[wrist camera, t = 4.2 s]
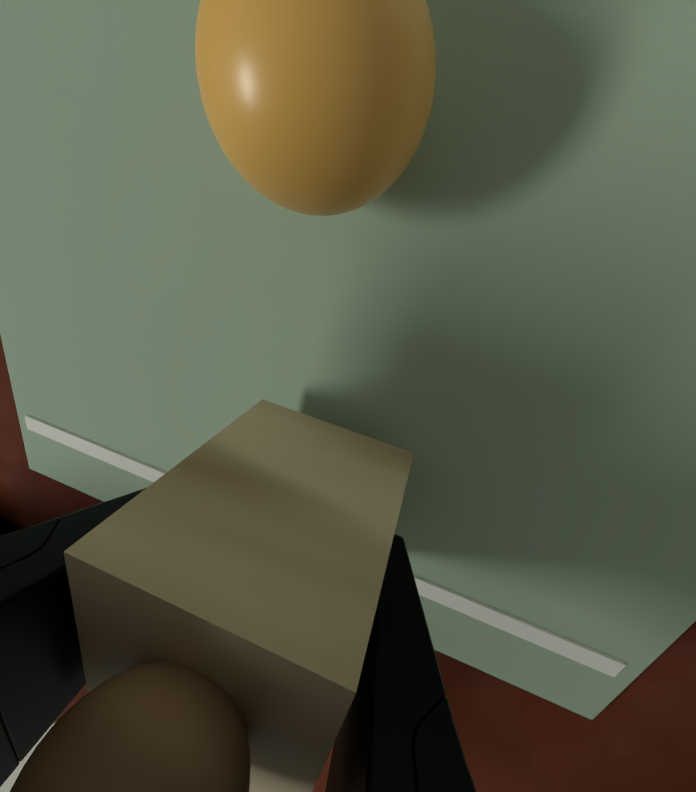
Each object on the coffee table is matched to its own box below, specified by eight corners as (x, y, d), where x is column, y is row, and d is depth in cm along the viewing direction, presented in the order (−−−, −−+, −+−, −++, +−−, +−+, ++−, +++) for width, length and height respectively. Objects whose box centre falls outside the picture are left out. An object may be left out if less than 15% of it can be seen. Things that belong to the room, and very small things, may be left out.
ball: (411, 238, 8) (373, 236, 5) (261, 201, 8) (137, 176, 5) (471, 14, 6) (476, -223, 3) (282, -11, 7) (122, -229, 4)
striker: (371, 566, 10) (206, 1143, 4) (246, 514, 11) (-84, 924, 4) (413, 453, 9) (244, 1157, 2) (262, 399, 9) (-248, 789, 3)
